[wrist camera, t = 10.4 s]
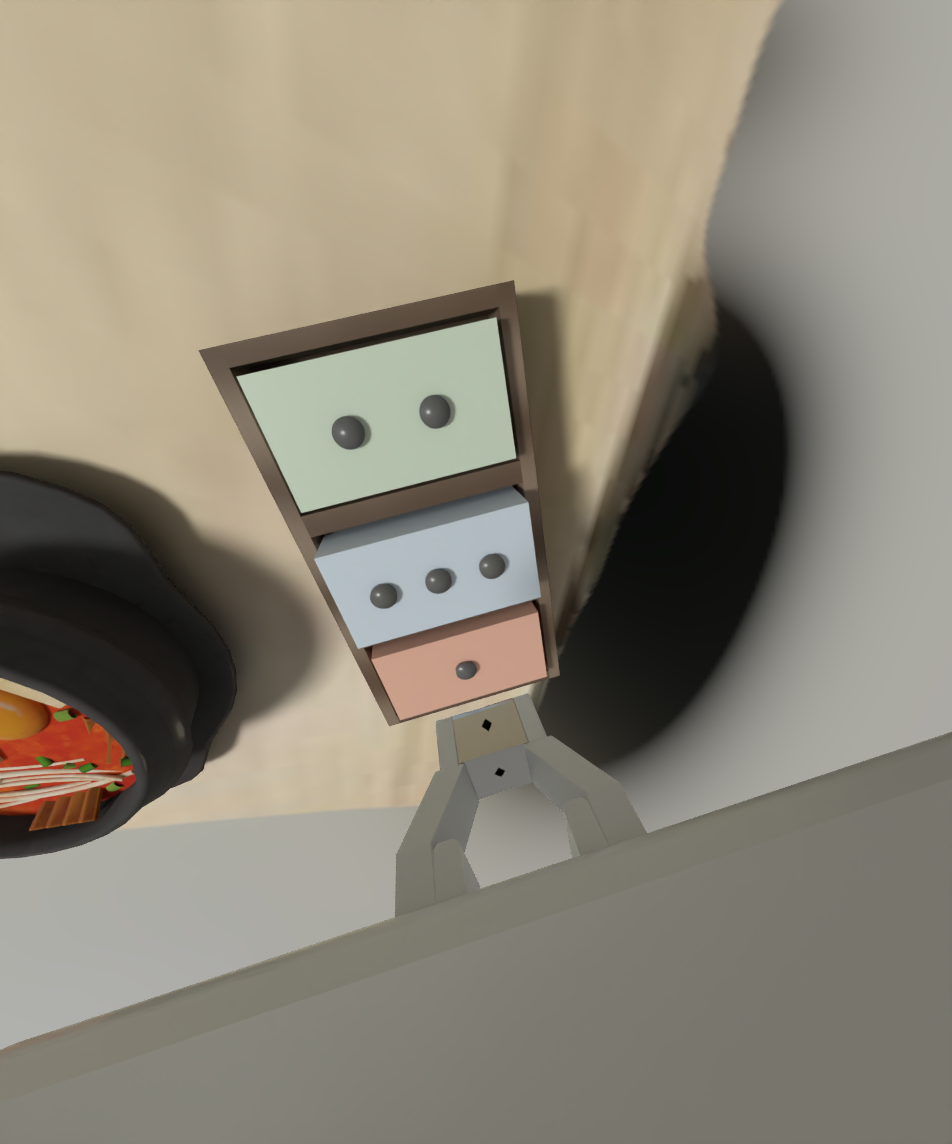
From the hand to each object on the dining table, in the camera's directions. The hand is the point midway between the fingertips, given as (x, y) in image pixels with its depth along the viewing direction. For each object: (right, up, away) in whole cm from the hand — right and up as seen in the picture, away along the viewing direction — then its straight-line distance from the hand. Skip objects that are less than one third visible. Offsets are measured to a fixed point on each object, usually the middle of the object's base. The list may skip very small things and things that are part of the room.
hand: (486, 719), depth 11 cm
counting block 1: (-5, +13, +8) cm, 16 cm away
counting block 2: (-3, +6, +11) cm, 13 cm away
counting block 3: (-2, 0, +16) cm, 16 cm away
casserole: (-26, -1, +13) cm, 29 cm away
